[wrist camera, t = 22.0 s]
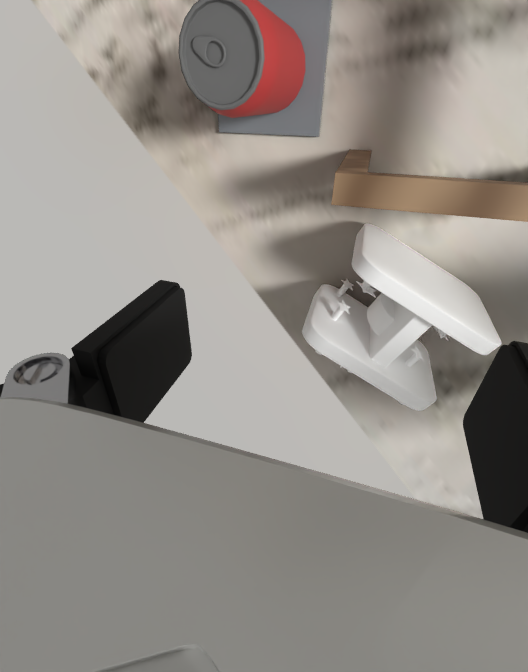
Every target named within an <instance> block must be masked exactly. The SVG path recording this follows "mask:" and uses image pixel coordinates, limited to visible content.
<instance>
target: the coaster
mask: <svg viewBox="0 0 528 672" xmlns="http://www.w3.org/2000/svg"><path fill="white" fill-rule="evenodd" d="M258 1H259V2H260V3H262V4H263V5H264V6H265V7H267V8H268V9H269V10H270V11H272V12H273V13H274V14H275V15H277V16H278V17H279V18H280V19H282V20H283V21H284V22H285V23H287V24H288V25H289V26H290V27H292V28H293V29H294V31H295V32H296V34H297V35H298V37H299V39H300V40H301V43H302V46H303V50H304V53H305V75H304V80H303V84H302V87H301V89H300V91H299V93H298V95H297V97H296V98H295V99H294V100H293V101H292V102H291V104H290V105H289V106H288V107H287V108H285V109H283V110H281V111H279V112H277V113H270V114H262V115H254V116H246V117H237V118H230V117H227V116H224V115H220V114H218V121H219V132H228V133H250V134H272V135H295V136H317V137H319V136H320V126H321V115H322V104H323V94H324V83H325V73H326V62H327V52H328V41H329V31H330V20H331V10H332V0H258Z"/></svg>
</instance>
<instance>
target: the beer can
mask: <svg viewBox="0 0 528 672" xmlns="http://www.w3.org/2000/svg"><path fill="white" fill-rule="evenodd" d="M179 58H180V64H181V70H182V73H183V75H184V78H185V80H186V82H187V85H188V87H189V88H190V89H191V91H192V92H193V93H194V95H195V96H196V97H197V99H199V100H200V101H201V102H203V103H204V104H205V105H207V106H208V107H209V108H211V109H212V110H213V111H215V112H216V113H218V114H220V115H224V116H227V117H230V118H237V117H246V116H254V115H262V114H270V113H277V112H279V111H281V110H283V109H285V108H287V107H288V106H289V105H290V104H291V102H292V101H293V100H294V99H295V98H296V97H297V95H298V93H299V91H300V89H301V87H302V84H303V80H304V75H305V53H304V50H303V46H302V43H301V40H300V39H299V37H298V35H297V34H296V32H295V31H294V29H293V28H292V27H290V26H289V25H288V24H287V23H285V22H284V21H283V20H282V19H280V18H279V17H278V16H277V15H275V14H274V13H273V12H272V11H270V10H269V9H268V8H267V7H265V6H264V5H263V4H262V3H260V2H259V1H258V0H199V1H198V2H196V3H195V4H194V5H193V6H192V8H191V9H190V11H189V12H188V14H187V15H186V17H185V19H184V22H183V25H182V29H181V32H180V36H179Z"/></svg>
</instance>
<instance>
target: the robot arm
mask: <svg viewBox="0 0 528 672" xmlns="http://www.w3.org/2000/svg"><path fill="white" fill-rule="evenodd" d="M72 351H73V354H74V356H73V357H72V358H70V359H68V358H67V357H66V356H65V355H62V354H59V353H44V354H39V355H35V356H32V357H29V358H27V359H25V360H23V361H21V362H19V363H18V364H16V365H15V366H14V367H13V368H12V369H11V370H10V371H9V372H8V374H7V376H6V379H5V383H4V384H1V385H0V672H528V343H523V342H517V341H513V342H511V343H510V344H509V345H502V346H501V347H500V349H499V351H498V353H497V354H496V356H495V358H494V360H493V362H492V364H491V366H490V368H489V370H488V371H487V373H486V375H485V377H484V379H483V381H482V383H481V385H480V387H479V389H478V390H477V392H476V394H475V396H474V398H473V400H472V402H471V404H470V406H469V408H468V409H467V411H466V413H465V416H464V420H463V428H464V432H465V437H466V441H467V446H468V450H469V455H470V459H471V464H472V468H473V473H474V477H475V482H476V487H477V491H478V496H479V500H480V505H481V509H482V514H483V518H484V520H483V519H480V518H477V517H473V516H470V515H467V514H463V513H460V512H457V511H454V510H450V509H447V508H444V507H440V506H437V505H433V504H430V503H426V502H423V501H419V500H416V499H412V498H409V497H405V496H402V495H398V494H395V493H391V492H388V491H384V490H380V489H377V488H373V487H370V486H366V485H363V484H360V483H356V482H353V481H349V480H346V479H342V478H339V477H336V476H332V475H328V474H325V473H321V472H318V471H314V470H311V469H307V468H304V467H300V466H297V465H293V464H289V463H286V462H282V461H279V460H275V459H271V458H268V457H265V456H261V455H257V454H254V453H250V452H246V451H243V450H240V449H236V448H233V447H229V446H225V445H222V444H218V443H214V442H211V441H207V440H204V439H200V438H197V437H193V436H189V435H186V434H182V433H178V432H175V431H171V430H167V429H163V428H160V427H157V426H153V425H149V424H145V423H144V421H145V420H146V419H147V417H148V416H149V415H150V414H151V412H152V411H153V410H154V408H155V407H156V406H157V404H158V403H159V402H160V400H161V399H162V398H163V397H164V395H165V394H166V393H167V391H168V390H169V389H170V388H171V386H172V385H173V384H174V382H175V381H176V380H177V378H178V377H179V376H180V375H181V373H182V372H183V371H184V369H185V368H186V367H187V365H188V364H189V363H190V360H191V356H192V352H191V343H190V335H189V327H188V318H187V309H186V301H185V293H184V290H183V289H182V288H180V286H179V284H178V283H175V282H169V281H163V280H160V281H158V282H157V283H155V284H154V285H153V286H151V287H150V288H149V289H148V290H146V291H145V292H144V293H142V294H141V295H140V296H138V297H137V298H136V299H135V300H133V301H132V302H131V303H129V304H128V305H127V306H126V307H124V308H123V309H122V310H120V311H119V312H118V313H117V314H115V315H114V316H113V317H111V318H110V319H109V320H107V321H106V322H105V323H104V324H102V325H101V326H100V327H98V328H97V329H96V330H94V331H93V332H92V333H91V334H89V335H88V336H87V337H85V338H84V339H83V340H82V341H80V342H79V343H78V344H76V345H75V346H74V347H72Z"/></svg>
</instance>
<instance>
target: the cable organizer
mask: <svg viewBox="0 0 528 672" xmlns="http://www.w3.org/2000/svg"><path fill="white" fill-rule="evenodd" d="M351 264H352V267H353V269H354V271H355V272H356V273H357V274H358V275H359V276H360V277H361V278H362V279H363V280H364V282H363V283H360V282H357V281H356V282H357V283H358V284H359V285H360V286H361V288H362V289H363V292H365V293H369V294H370V295H372V296H373V297H375V298H376V296H375V295H374V293H373V292H375V291H376V290H374V289H373V288H375V289H377V290H378V291H380V292H381V294H380V295H379V296H378V297H377V298H376V300H375V301H374V302H373V303H372V304H371V305H370V306H369V307H367V306H365V305H364V304H362V303H361V302H359V301H357V300H356V299H354V298H353V297H351V296H349V295H348V294H346V293H345V292H346V290H347V289H348V288H350V289H351V290H352V291H353V289H352V286H353V284H351V283H349V281H348V279H346V281H343V280H341V281H342V282H343V283H344V284H343V285H342V287H341V288H340V289H338V288H336V287H334V286H332V285H328V284H323V285H321V287H320V288H319V289H318V291H317V292H316V293H315V295H314V297H313V300H312V302H311V305H310V308H309V311H308V314H307V317H306V320H305V323H304V326H303V329H302V334H303V336H304V338H305V340H306V341H307V342H308V343H309V345H310V346H312V347H313V348H314V349H315V350H316V351H315V352H317V353H318V354H320V355H324V356H326V357H327V358H329V359H331V360H332V361H334V362H335V363H337V364H339V365H340V368H342V367H344V368H345V369H347V371H348V372H349V373H353V374H355V375H357V376H358V377H360V378H362V379H363V380H365V381H366V382H368V383H370V384H371V385H373V386H375V387H376V388H378V389H379V390H381V391H383V392H384V393H386V394H388V395H389V396H391V397H392V398H394V399H396V400H397V401H399V403H400V404H402V405H403V404H404V405H406V406H407V407H409V408H411V409H414V410H417V411H423V410H424V409H426V408H427V407H429V406H430V405H431V404H433V403H434V402H435V401H436V400H437V396H436V391H435V385H434V380H433V375H432V369H431V364H430V358H429V353H428V351H427V349H426V347H425V346H424V345H423V344H422V343H421V342H420V341H419V340H418V338H419V337H420V336H421V335H422V334H423V333H424V332H426V331H427V330H428V329H429V328H430V327H431V326H432V325H433V326H435V327H436V328H434V329H435V330H436V331H437V332H438V333H439V335H440V338H445V339H446V340H448V339H447V337H446V335H449V336H450V337H452V338H453V339H455V340H457V341H458V342H460V343H461V344H463V345H464V346H466V347H468V348H469V349H471V350H472V351H474V352H476V353H479V354H481V355H488V354H489V353H491V352H492V351H493V350H495V349H496V348H497V347H499V346H500V345H501V344H502V342H501V339H500V337H499V335H498V333H497V331H496V329H495V327H494V325H493V323H492V321H491V319H490V317H489V315H488V313H487V311H486V309H485V307H484V305H483V303H482V301H481V299H480V297H479V296H478V295H477V294H476V293H475V292H474V291H473V290H472V289H471V288H470V287H469V286H468V285H466V284H465V283H464V282H462V281H461V280H459V279H458V278H456V277H455V276H453V275H452V274H450V273H448V272H447V271H445V270H444V269H442V268H441V267H439V266H438V265H436V264H435V263H433V262H432V261H430V260H429V259H427V258H425V257H424V256H422V255H421V254H419V253H418V252H416V251H415V250H413V249H412V248H410V247H409V246H407V245H406V244H404V243H403V242H401V241H399V240H398V239H396V238H395V237H393V236H392V235H390V234H389V233H387V232H386V231H384V230H382V229H381V228H379V227H377V226H375V225H372V224H369V223H365V224H364V225H363V227H362V228H361V229H360V231H359V232H358V234H357V235H356V241H355V246H354V252H353V258H352V263H351ZM370 286H372V287H373V288H371V287H370ZM437 328H438V329H437ZM448 341H449V340H448Z"/></svg>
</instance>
